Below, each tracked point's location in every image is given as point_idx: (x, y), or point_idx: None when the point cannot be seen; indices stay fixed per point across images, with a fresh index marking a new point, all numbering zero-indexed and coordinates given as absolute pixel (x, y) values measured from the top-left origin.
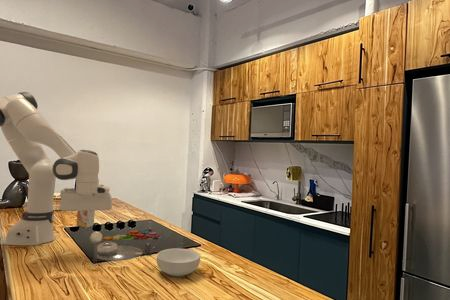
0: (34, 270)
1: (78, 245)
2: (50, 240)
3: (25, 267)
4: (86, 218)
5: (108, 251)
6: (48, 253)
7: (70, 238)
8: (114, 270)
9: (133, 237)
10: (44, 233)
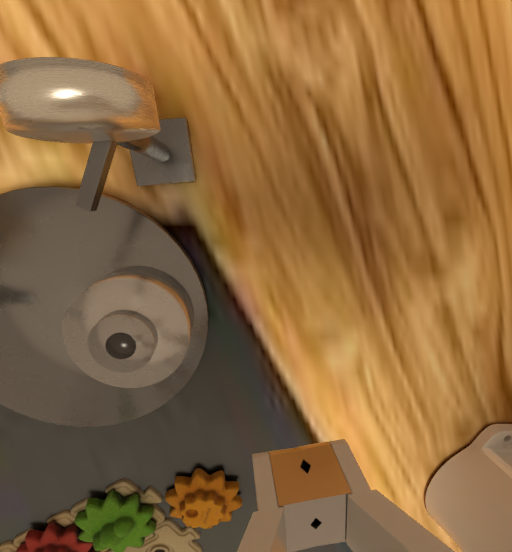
0: (440, 113)
1: (318, 442)
2: (439, 476)
3: (483, 159)
4: (302, 477)
5: (108, 275)
6: (419, 341)
7: None
8: None
9: (84, 539)
10: (491, 498)
